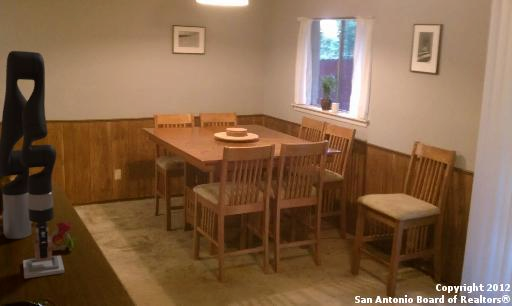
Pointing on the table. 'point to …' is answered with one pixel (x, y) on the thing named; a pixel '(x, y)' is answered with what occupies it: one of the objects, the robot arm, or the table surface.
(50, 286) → the table surface
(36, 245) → the terracotta block
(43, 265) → the socket plate
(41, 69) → the robot arm
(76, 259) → the table surface
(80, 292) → the table surface
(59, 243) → the bird rattle
